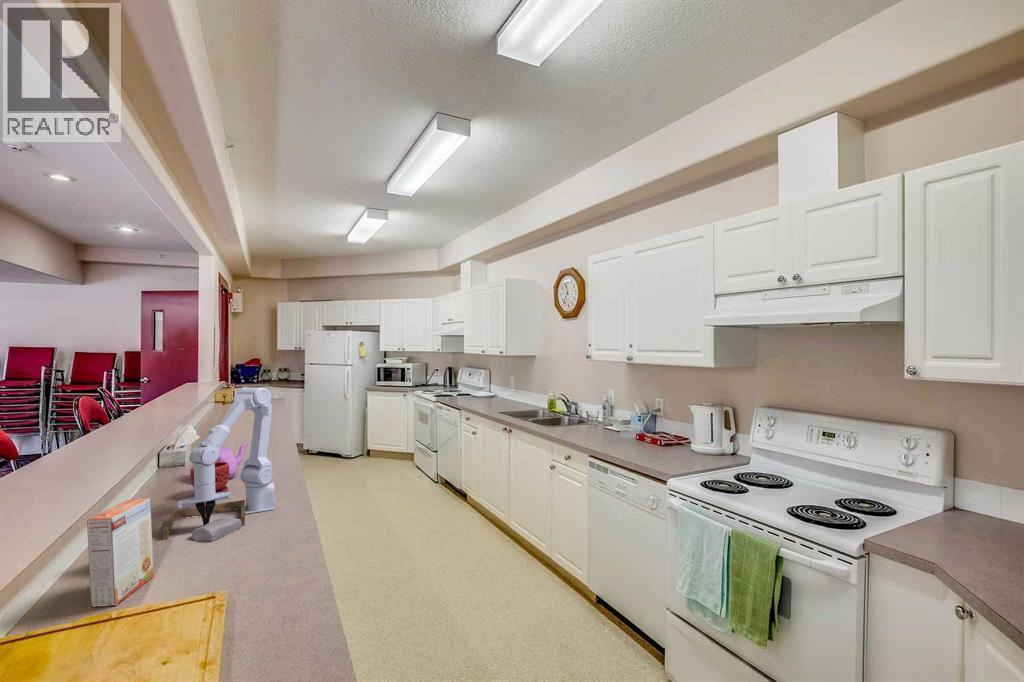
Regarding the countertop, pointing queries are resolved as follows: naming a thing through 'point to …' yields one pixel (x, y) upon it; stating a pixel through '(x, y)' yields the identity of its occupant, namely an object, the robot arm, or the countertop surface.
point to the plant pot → (217, 476)
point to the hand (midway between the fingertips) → (205, 524)
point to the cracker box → (120, 551)
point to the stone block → (216, 529)
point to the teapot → (231, 458)
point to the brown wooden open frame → (194, 512)
